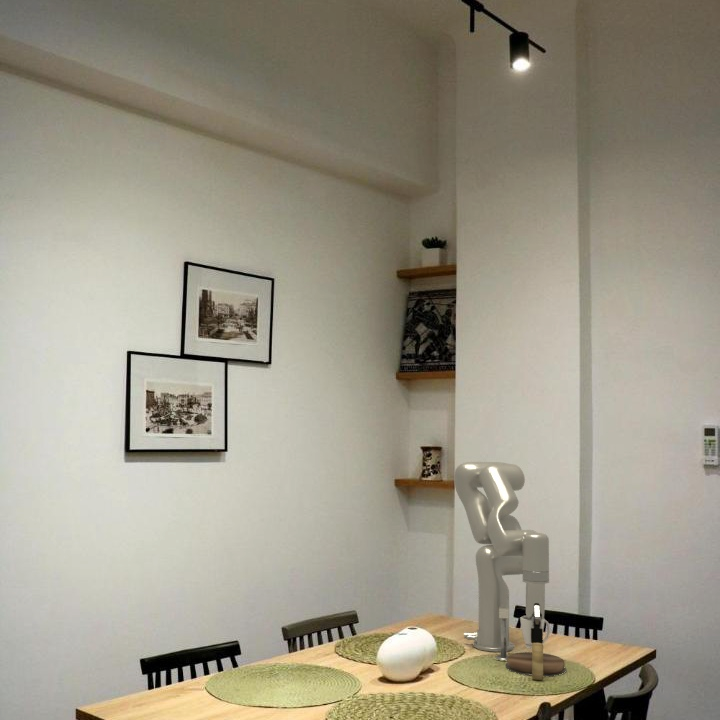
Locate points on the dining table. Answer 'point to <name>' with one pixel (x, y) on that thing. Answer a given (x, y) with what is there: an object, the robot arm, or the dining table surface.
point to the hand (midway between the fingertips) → (536, 639)
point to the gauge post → (503, 632)
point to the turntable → (535, 662)
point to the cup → (526, 630)
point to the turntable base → (531, 674)
